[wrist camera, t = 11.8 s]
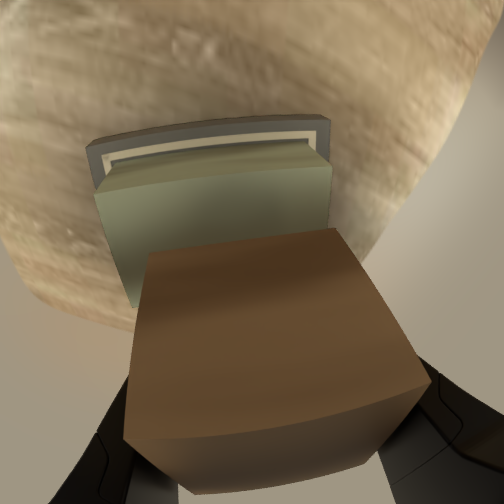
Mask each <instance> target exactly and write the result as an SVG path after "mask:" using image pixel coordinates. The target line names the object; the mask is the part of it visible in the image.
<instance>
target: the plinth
mask: <svg viewBox="0 0 504 504" xmlns="http://www.w3.org/2000/svg"><path fill="white" fill-rule="evenodd" d="M330 124H331V120H330V119H328V118H326V117H324V116H322V115H276V116H256V117H241V118H229V119H219V120H209V121H200V122H192V123H184V124H177V125H170V126H164V127H157V128H151V129H146V130H140V131H135V132H129V133H124V134H119V135H114V136H110V137H105V138H101V139H96V140H93V141H92V142H91V143H90V144H89V145H88V146H87V147H85V148H86V152H87V157H88V161H89V165H90V169H91V173H92V177H93V181H94V185H95V189H96V190H97V188H98V187H99V185H100V184H101V183H102V181H103V180H104V178H105V177H106V175H107V174H108V173H109V171H110V170H111V168H112V167H113V166H114V164H115V163H117V162H122V161H128V160H133V159H139V158H144V157H150V156H156V155H163V154H169V153H176V152H183V151H191V150H199V149H207V148H216V147H225V146H236V145H247V144H260V143H275V142H293V141H305V142H306V143H307V144H308V145H309V146H310V147H311V148H313V149H314V150H315V151H316V152H317V153H318V154H319V155H321V156H322V157H323V158H324V159H325V160H326V161H327V162H328V163H329V146H330Z"/></svg>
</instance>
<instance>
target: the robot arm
mask: <svg viewBox="0 0 504 504" xmlns="http://www.w3.org/2000/svg"><path fill="white" fill-rule="evenodd" d="M417 356H418V355H417ZM418 358H419V359H420V361H421V363H422V365H423V367H424V368H425V370H426V372H427V374H428V376H429V377H430V379H431V381H432V382H431V384H430V385H429V386H428V388H427V389H426V391H425V392H424V393H423V395H422V396H421V397H420V399H419V400H418V402H417V403H416V404H415V406H414V407H413V408H412V409H411V411H410V412H409V413H408V415H407V416H406V417H405V418H404V420H403V421H402V422H401V423H400V424H399V426H398V427H397V428H396V429H395V430H394V432H393V433H392V434H391V435H390V436H389V437H388V439H387V440H386V441H385V442H384V443H383V444H382V445H381V447H380V448H379V449H378V450H377V451H378V454H379V457H380V459H381V462H382V465H383V468H384V471H385V473H386V476H387V479H388V482H389V485H390V488H391V491H392V494H393V497H394V499H395V502H396V504H504V415H502V414H501V413H499V412H497V411H496V410H494V409H492V408H491V407H489V406H488V405H486V404H485V403H483V402H481V401H480V400H478V399H476V398H475V397H473V396H472V395H470V394H469V393H467V392H466V391H464V390H462V389H461V388H460V387H458V386H457V385H456V384H454V383H453V382H452V381H450V380H449V379H448V378H446V377H445V376H444V375H443V374H441V373H439V372H438V371H437V370H436V369H435V368H433V367H432V366H431V365H429V364H428V363H427V362H426V361H424V360H423V359H422V358H420V357H419V356H418ZM128 378H129V375H128V377H127V378H126V380H125V382H124V384H123V385H122V387H121V389H120V390H119V392H118V394H117V396H116V397H115V399H114V401H113V402H112V404H111V406H110V408H109V409H108V411H107V413H106V415H105V417H104V418H103V420H102V422H101V424H100V425H99V427H98V429H97V433H95V434H94V436H93V438H92V440H91V441H90V443H89V445H88V447H87V448H86V450H85V452H84V453H83V455H82V457H81V458H80V460H79V461H78V463H77V464H76V466H75V467H74V469H73V470H72V472H71V473H70V474H69V476H68V477H67V479H66V480H65V481H64V483H63V484H62V486H61V487H60V489H59V490H58V491H57V493H56V495H55V496H54V497H53V498H52V500H51V501H50V502H49V503H48V504H178V483H177V482H176V481H174V480H173V479H171V478H170V477H169V476H167V475H166V474H165V473H163V472H162V471H161V470H160V469H158V468H157V467H156V466H155V465H153V464H152V463H151V462H150V461H148V460H147V459H146V458H145V457H143V456H142V455H141V454H140V453H139V452H138V451H136V450H135V449H134V448H133V447H132V446H131V445H129V444H128V443H127V442H126V441H125V440H124V439H123V436H124V421H125V408H126V397H127V387H128Z"/></svg>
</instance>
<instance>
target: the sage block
mask: <svg viewBox="0 0 504 504" xmlns="http://www.w3.org/2000/svg"><path fill="white" fill-rule="evenodd" d="M332 167H333V166H332V165H331V164H329V163H328V162H327V161H326V160H325V159H324V158H323V157H322V156H321V155H319V154H318V153H317V152H316V151H315V150H314V149H313V148H311V147H310V146H309V145H308V144H307V143H306V142H305V141H293V142H275V143H260V144H247V145H236V146H225V147H216V148H207V149H199V150H191V151H183V152H176V153H169V154H163V155H156V156H150V157H144V158H139V159H133V160H128V161H122V162H117V163H115V164H114V166H113V167H112V168H111V170H110V171H109V173H108V174H107V175H106V177H105V178H104V180H103V181H102V183H101V184H100V185H99V187H98V188H97V190H96V191H95V193H94V194H93V195H94V199H95V202H96V206H97V209H98V212H99V216H100V219H101V222H102V225H103V229H104V232H105V235H106V238H107V241H108V244H109V247H110V250H111V253H112V256H113V259H114V261H115V264H116V267H117V270H118V272H119V275H120V278H121V280H122V283H123V286H124V288H125V291H126V293H127V296H128V298H129V301H130V303H131V306H132V308H136V307H139V302H140V297H141V291H142V286H143V281H144V276H145V271H146V266H147V261H148V256H149V253H152V252H159V251H166V250H173V249H180V248H187V247H194V246H202V245H209V244H216V243H223V242H231V241H238V240H246V239H253V238H261V237H268V236H276V235H283V234H291V233H299V232H307V231H315V230H323V229H327V226H328V216H329V205H330V194H331V181H332Z"/></svg>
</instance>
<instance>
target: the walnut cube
mask: <svg viewBox="0 0 504 504" xmlns="http://www.w3.org/2000/svg"><path fill="white" fill-rule="evenodd" d="M431 382H432V381H431V379H430V377H429V376H428V374H427V372H426V370H425V368H424V367H423V365H422V363H421V361H420V359H419V358H418V356H417V354H416V352H415V351H414V349H413V347H412V346H411V344H410V342H409V340H408V339H407V337H406V335H405V334H404V332H403V330H402V329H401V327H400V325H399V324H398V322H397V320H396V319H395V317H394V316H393V314H392V312H391V311H390V309H389V308H388V306H387V304H386V303H385V301H384V300H383V298H382V296H381V295H380V293H379V292H378V290H377V289H376V287H375V285H374V284H373V283H372V281H371V279H370V278H369V276H368V275H367V273H366V272H365V270H364V269H363V267H362V266H361V264H360V263H359V261H358V260H357V258H356V257H355V255H354V254H353V253H352V251H351V250H350V248H349V247H348V245H347V244H346V242H345V241H344V240H343V238H342V237H341V235H340V234H339V232H338V231H337V230H336V228H330V229H323V230H315V231H307V232H299V233H291V234H283V235H276V236H268V237H261V238H253V239H246V240H238V241H231V242H223V243H216V244H209V245H202V246H194V247H187V248H180V249H173V250H166V251H159V252H152V253H149V256H148V261H147V266H146V271H145V276H144V281H143V286H142V291H141V297H140V302H139V308H138V314H137V320H136V326H135V333H134V340H133V347H132V354H131V362H130V370H129V378H128V387H127V397H126V408H125V421H124V436H123V439H124V440H125V441H126V442H127V443H128V444H129V445H131V446H132V447H133V448H134V449H135V450H136V451H138V452H139V453H140V454H141V455H142V456H143V457H145V458H146V459H147V460H148V461H150V462H151V463H152V464H153V465H155V466H156V467H157V468H158V469H160V470H161V471H162V472H163V473H165V474H166V475H167V476H169V477H170V478H171V479H173V480H174V481H176V482H177V483H178V484H180V485H181V486H183V487H184V488H185V489H187V490H188V491H190V492H191V493H193V494H194V495H201V494H218V493H229V492H239V491H247V490H255V489H262V488H268V487H274V486H280V485H285V484H290V483H295V482H299V481H304V480H309V479H313V478H317V477H321V476H325V475H329V474H332V473H336V472H339V471H343V470H346V469H350V468H353V467H356V466H359V465H362V464H364V463H366V462H367V460H368V459H369V458H370V457H371V456H372V455H373V454H374V453H375V452H376V451H377V450H378V449H379V448H380V447H381V445H382V444H383V443H384V442H385V441H386V440H387V439H388V437H389V436H390V435H391V434H392V433H393V432H394V430H395V429H396V428H397V427H398V426H399V424H400V423H401V422H402V421H403V420H404V418H405V417H406V416H407V415H408V413H409V412H410V411H411V409H412V408H413V407H414V406H415V404H416V403H417V402H418V400H419V399H420V397H421V396H422V395H423V393H424V392H425V391H426V389H427V388H428V386H429V385H430V384H431Z"/></svg>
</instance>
